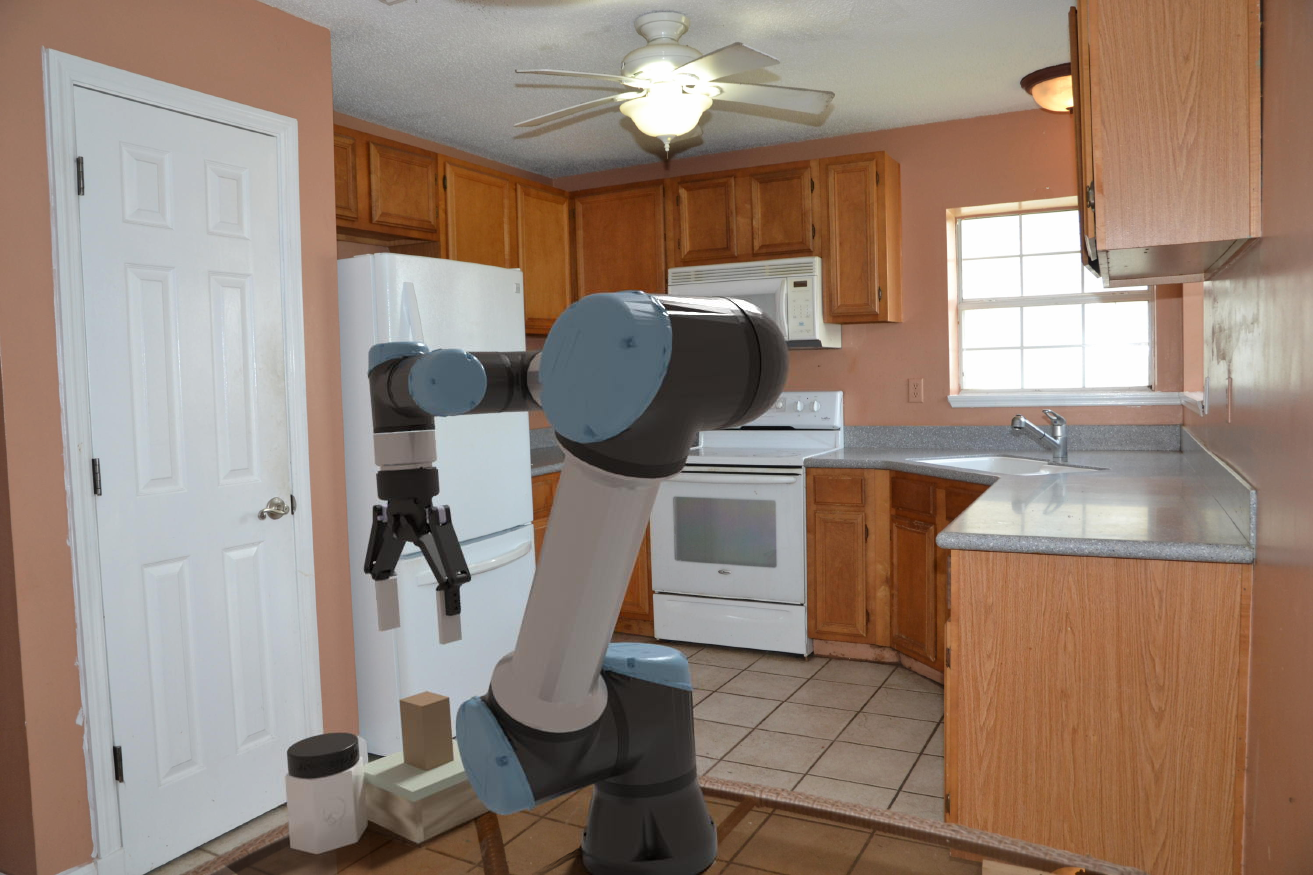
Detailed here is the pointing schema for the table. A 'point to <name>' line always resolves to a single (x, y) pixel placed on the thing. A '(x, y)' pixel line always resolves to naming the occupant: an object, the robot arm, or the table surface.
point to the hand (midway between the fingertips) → (419, 635)
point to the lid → (420, 751)
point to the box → (423, 810)
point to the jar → (325, 792)
